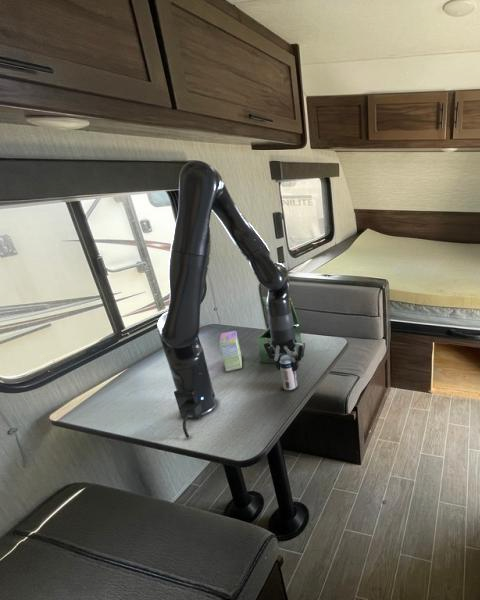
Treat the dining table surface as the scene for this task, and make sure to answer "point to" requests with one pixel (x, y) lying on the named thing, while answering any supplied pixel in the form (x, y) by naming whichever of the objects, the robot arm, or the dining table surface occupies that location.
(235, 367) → the box
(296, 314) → the bin lid
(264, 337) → the trash bin
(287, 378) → the beer can
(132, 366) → the dining table surface
